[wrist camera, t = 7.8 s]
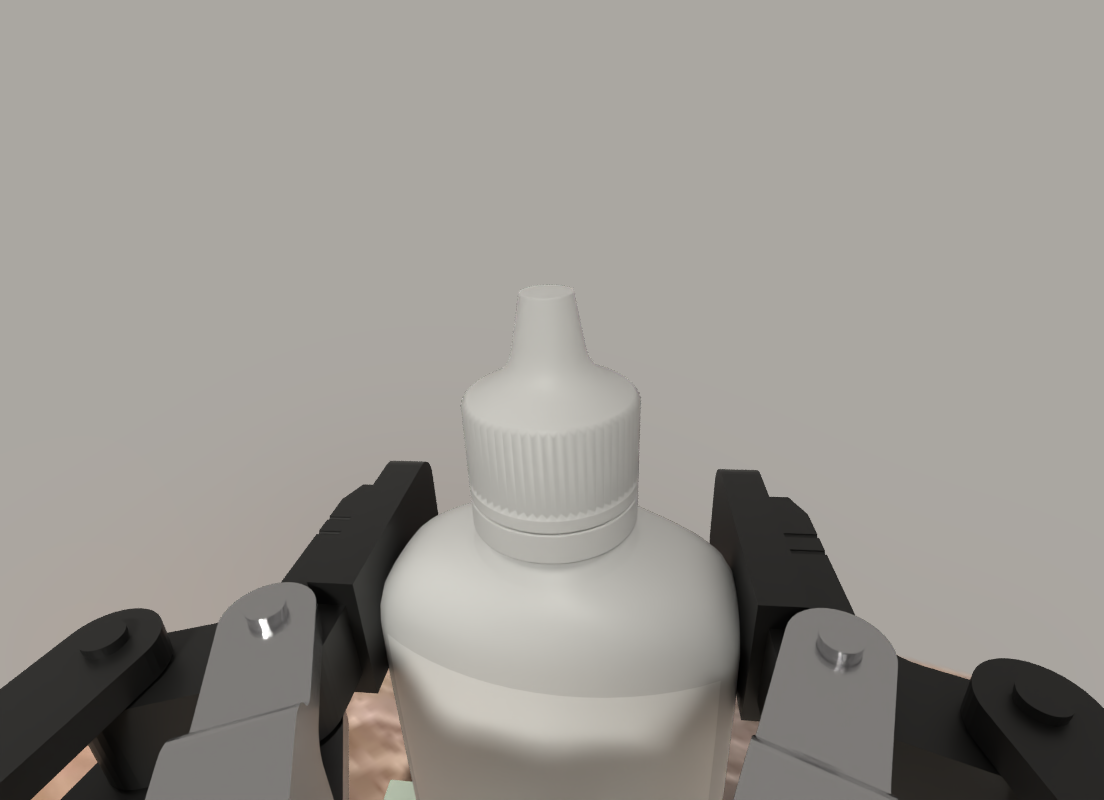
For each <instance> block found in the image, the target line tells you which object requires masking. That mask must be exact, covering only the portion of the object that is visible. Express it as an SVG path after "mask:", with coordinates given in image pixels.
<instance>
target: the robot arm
mask: <svg viewBox="0 0 1104 800" xmlns="http://www.w3.org/2000/svg"><path fill="white" fill-rule="evenodd" d="M437 515H438V510H437V503H436V496H435V489H434V482H433V476H432V470H431V466H430V464H429V463H428V462H418V461H390V462H389V463H388V464H387V465H386V467H385V468H384V470H383V471H382V473H381V474H380V476H379V477H378V479H377V480H376V481H375V483H374V484H373V485H362V486H361V487H359V488H358V489H357V490H355V491H353V492H352V493H351V494H349V495H348V496H346V497H345V498H343V499H342V500H341V502H340V503H339V505H338V506H337V507H336V509H335V510H334V511H333V513H332V514H331V515H330V520H327V521H326V522H325V524H324V525H323V526H322V528H321V529H320V531H319V534H316V536H315V537H314V539H313V540H312V541H311V543H310V544H309V545H308V547H307V548H306V549H305V551H304V552H303V553H302V555H301V556H300V558H299V559H298V560H297V561H296V563H295V564H294V566H293V567H292V568H291V570H290V571H289V573H288V574H287V575H286V576H285V578H284V579H283V580H282V582H281V583H275V584H271V585H267V586H264V587H261V588H258V589H256V590H254V591H252V592H250V593H248V594H246V595H244V596H243V597H241V598H240V599H238V600H237V601H236V602H234V603H233V604H232V605H231V606H230V607H229V608H228V609H227V610H226V611H225V612H224V614H223V615H222V617H221V618H220V620H219V623H216V624H211V625H205V626H200V627H195V628H190V629H185V630H180V631H175V632H169V633H167V631H166V629H165V627H164V625H163V622H162V620H161V618H160V616H159V615H158V614H157V613H156V612H154V611H152V610H149V609H142V608H140V609H127V610H122V611H118V612H115V613H111V614H108V615H105V616H103V617H101V618H98V619H96V620H94V621H92V622H90V623H88V624H87V625H85V626H83V627H81V628H80V629H78V630H77V631H75V632H74V633H73V634H71V635H70V636H69V637H67V638H66V639H65V640H63V641H62V642H61V643H59V644H58V645H57V646H56V647H54V648H53V649H52V650H50V651H49V652H48V653H47V654H45V655H44V656H43V657H41V658H40V659H39V660H38V661H36V662H35V663H34V664H32V665H31V666H30V667H28V668H27V669H26V670H25V671H23V672H22V673H21V674H19V675H18V676H17V677H15V678H14V679H13V680H12V681H10V682H9V683H8V684H7V685H5V686H4V687H3V688H1V689H0V800H31V799H32V798H33V797H34V796H35V795H36V794H37V793H38V792H39V791H40V790H41V789H42V788H43V787H44V786H46V785H47V784H48V783H49V782H50V781H51V780H52V779H53V778H54V777H55V776H56V775H57V774H58V773H59V772H60V771H61V770H62V769H63V768H64V767H65V766H66V765H67V764H68V763H69V762H71V761H72V760H73V759H74V758H75V757H76V756H77V755H78V754H79V753H80V752H81V751H82V750H83V749H84V748H85V747H86V746H87V745H88V746H89V747H90V749H91V751H92V753H93V755H94V757H95V758H96V760H97V762H98V763H97V764H96V765H95V766H94V767H93V768H92V769H91V770H90V771H89V772H88V773H87V774H86V775H85V776H84V777H83V778H82V779H81V780H80V781H79V782H78V783H77V784H76V785H75V786H74V787H73V788H72V789H71V790H70V791H69V792H68V793H67V794H66V795H65V796H64V797H63V798H62V799H61V800H349V722H348V717H347V713H346V708H347V706H348V704H349V702H350V700H351V698H352V696H353V693H354V692H365V693H378V692H379V689H380V687H381V685H382V682H383V680H384V678H385V675H386V673H387V671H388V668H389V665H388V659H387V653H386V648H385V642H384V636H383V630H382V625H381V607H380V604H381V599H382V594H383V589H384V584H385V581H386V579H387V577H388V575H389V573H390V571H391V569H392V567H393V565H394V563H395V562H396V560H397V559H398V557H399V555H400V554H401V552H402V551H403V549H404V548H405V546H406V545H407V543H408V542H409V541H410V539H411V538H412V537H413V536H414V534H415V533H416V532H417V531H418V530H419V529H420V527H421V526H423V525H424V524H425V523H427V522H428V521H429V520H431V519H432V518H434V517H435V516H437ZM710 531H711V532H710V544H711V545H712V546H714V547H715V548H716V549H717V550H718V551H719V552H720V553H721V554H722V556H723V557H724V559H725V560H726V562H727V564H728V565H729V567H730V569H731V570H732V573H733V578H734V583H735V587H736V593H737V600H738V609H739V620H740V662H739V672H738V681H737V691H736V696H737V701H738V706H739V711H740V716H741V720H748V721H760V723H759V726H758V730H757V733H756V736H755V735H753V736H752V738H751V741H750V744H749V747H748V750H747V754H746V757H745V761H744V764H743V768H742V771H741V775H740V778H739V782H738V785H737V789H736V792H735V796H734V799H733V800H1104V708H1103V707H1102V706H1101V705H1100V704H1099V703H1098V702H1097V701H1096V700H1094V699H1093V698H1092V697H1091V696H1090V695H1089V694H1088V693H1086V692H1085V691H1084V690H1083V689H1081V688H1080V687H1078V686H1077V685H1076V684H1074V683H1073V682H1071V681H1070V680H1068V679H1066V678H1065V677H1063V676H1061V675H1059V674H1057V673H1055V672H1053V671H1051V670H1049V669H1046V668H1044V667H1041V666H1039V665H1036V664H1033V663H1030V662H1026V661H1021V660H1016V659H1005V658H999V659H992V660H988V661H985V662H983V663H981V664H980V665H978V666H977V667H976V669H975V670H974V671H973V674H972V677H971V679H970V680H968V679H965V678H962V677H958V676H955V675H951V674H948V673H945V672H941V671H938V670H935V669H931V668H928V667H924V666H921V665H918V664H916V663H913V662H910V661H908V660H906V659H903V658H901V657H899V656H897V655H896V653H895V650H894V648H893V647H892V645H891V643H890V642H889V641H888V639H887V638H886V637H885V636H884V635H883V634H882V633H881V632H880V631H879V630H878V629H876V628H875V627H874V626H873V625H871V624H869V623H868V622H866V621H865V620H863V619H861V618H859V617H857V616H855V614H854V612H853V609H852V607H851V605H850V603H849V601H848V599H847V597H846V595H845V592H844V590H843V588H842V586H841V584H840V582H839V580H838V578H837V575H836V573H835V571H834V569H833V567H832V565H831V563H830V561H829V558H828V556H827V555H825V550H824V548H823V546H822V544H821V541H820V539H819V538H817V533H816V531H815V529H814V527H813V524H812V523H811V520H810V518H809V516H808V514H807V513H805V512H804V511H803V510H802V509H801V508H800V507H799V506H797V505H796V504H795V503H794V502H793V501H792V500H791V499H789V498H788V497H769V495H768V493H767V490H766V487H765V485H764V482H763V480H762V477H761V475H760V472H759V471H757V470H725V469H718V470H717V473H716V478H715V487H714V498H713V508H712V521H711V530H710Z"/></svg>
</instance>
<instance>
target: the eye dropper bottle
mask: <svg viewBox="0 0 1104 800" xmlns="http://www.w3.org/2000/svg"><path fill="white" fill-rule="evenodd" d="M640 398H641V397H640V395H639V392H638V390H637V388H636V387H635V385H634V384H633V383H632V382H630V380H629V379H627V378H626V377H625V376H623V375H622V374H620V373H618V372H616V371H614V370H612V369H609V368H606V367H603V366H600V365H597V364H595V363H594V362H593V361H592V360H591V358H590V357H589V355H588V352H587V349H586V345H585V340H584V336H583V331H582V327H581V322H580V317H579V312H578V308H577V303H576V298H575V293H574V290H573V289H572V288H571V287H568V286H564V285H553V284H551V285H550V284H549V285H548V284H547V285H536V286H530V287H526V288H523V289H521V290H520V291H519V293H518V301H517V308H516V317H515V324H514V332H513V339H512V348H511V352H510V357H509V360H508V362H507V364H506V365H505V367H504V368H501V369H499V370H496V371H494V372H492V373H489V374H487V375H485V376H484V377H482V378H481V379H479V380H478V381H476V382H475V383H474V384H473V385H472V386H471V387H470V388H469V389H468V390H467V392H466V393H465V395H464V396H463V399H462V401H461V412H462V420H463V430H464V439H465V448H466V456H467V466H468V474H469V485H470V492H471V502H472V503H468V504H465V505H462V506H459V507H456V508H453V509H451V510H449V511H446V512H444V513H442V514H439V515H437V516H435V517H434V518H432V519H431V520H429V521H428V522H427V523H425V524H424V525H423V526H421V527H420V529H419V530H418V531H417V532H416V533H415V534H414V536H413V537H412V538H411V539H410V541H409V542H408V543H407V545H406V546H405V548H404V549H403V551H402V552H401V554H400V555H399V557H398V559H397V560H396V562H395V563H394V565H393V567H392V569H391V571H390V573H389V575H388V577H387V579H386V581H385V584H384V589H383V594H382V599H381V604H380V607H381V625H382V630H383V636H384V642H385V648H386V653H387V659H388V665H389V671H390V676H391V681H392V685H393V690H394V695H395V700H396V705H397V710H398V715H399V720H400V725H401V729H402V734H403V739H404V744H405V749H406V754H407V759H408V763H409V768H410V773H411V778H412V782H413V787H414V792H415V796H416V800H723V795H724V787H725V779H726V771H727V764H728V756H729V748H730V741H731V733H732V725H733V717H734V710H735V700H736V691H737V681H738V672H739V662H740V620H739V609H738V600H737V593H736V587H735V583H734V578H733V573H732V570H731V569H730V567H729V565H728V564H727V562H726V560H725V559H724V557H723V556H722V554H721V553H720V552H719V551H718V550H717V549H716V548H715V547H714V546H712V545H711V544H709V543H708V542H707V541H705V540H704V539H703V538H701V537H700V536H698V535H697V534H695V533H693V532H692V531H689V530H688V529H686V528H684V527H682V526H680V525H678V524H677V523H675V522H673V521H671V520H669V519H666V518H664V517H662V516H660V515H658V514H655V513H653V512H651V511H648V510H646V509H644V508H642V507H639V506H638V473H639V439H640V405H641V401H640Z"/></svg>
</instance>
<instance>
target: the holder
mask: <svg viewBox="0 0 1104 800" xmlns="http://www.w3.org/2000/svg"><path fill="white" fill-rule="evenodd" d="M384 800H416V796H415V792H414V787H413V782H409V781H398V780H390V783H389V786H388V789H387V792H386V794H385V797H384Z"/></svg>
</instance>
